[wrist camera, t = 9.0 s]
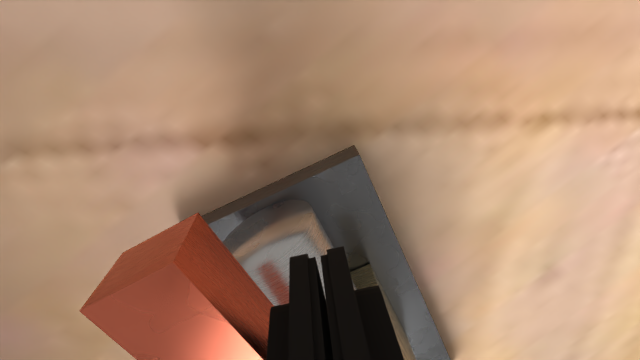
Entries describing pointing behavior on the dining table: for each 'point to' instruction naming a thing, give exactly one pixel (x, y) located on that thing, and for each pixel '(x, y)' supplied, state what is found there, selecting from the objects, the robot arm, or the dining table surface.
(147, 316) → the valve lever
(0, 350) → the dining table surface
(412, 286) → the valve body
